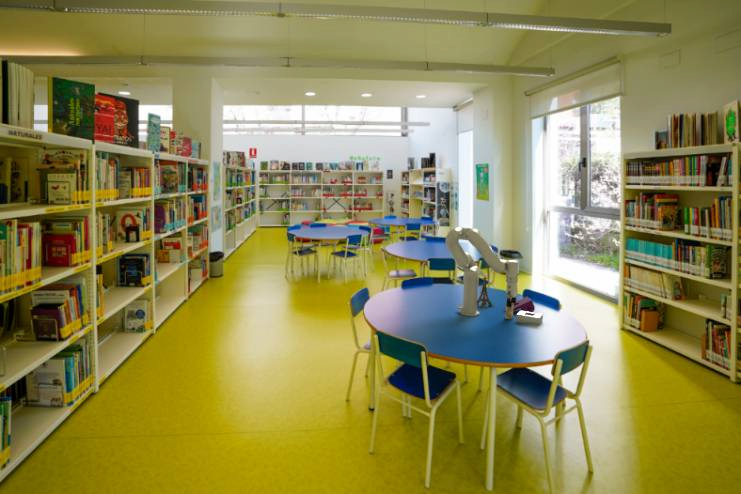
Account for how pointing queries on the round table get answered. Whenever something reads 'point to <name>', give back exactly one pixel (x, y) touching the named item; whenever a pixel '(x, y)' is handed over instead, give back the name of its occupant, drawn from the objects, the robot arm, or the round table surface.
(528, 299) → the maroon shoe
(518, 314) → the collar block
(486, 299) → the eiffel tower
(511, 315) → the wedge pin
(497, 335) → the round table surface
